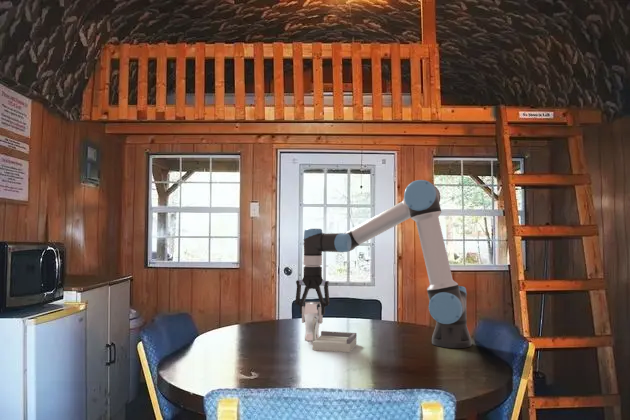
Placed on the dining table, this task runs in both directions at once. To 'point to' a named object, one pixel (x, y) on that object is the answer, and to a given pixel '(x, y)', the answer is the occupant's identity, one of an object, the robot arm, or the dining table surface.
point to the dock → (335, 341)
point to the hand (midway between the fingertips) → (312, 322)
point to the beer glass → (311, 320)
